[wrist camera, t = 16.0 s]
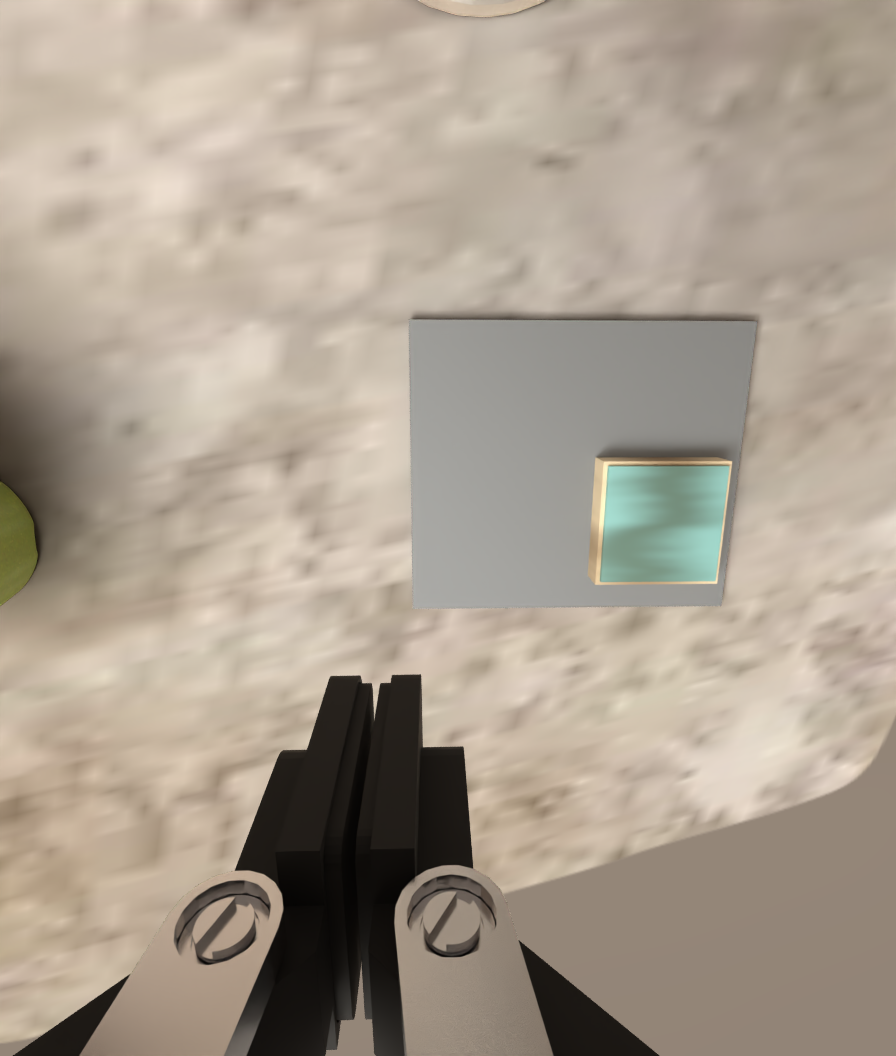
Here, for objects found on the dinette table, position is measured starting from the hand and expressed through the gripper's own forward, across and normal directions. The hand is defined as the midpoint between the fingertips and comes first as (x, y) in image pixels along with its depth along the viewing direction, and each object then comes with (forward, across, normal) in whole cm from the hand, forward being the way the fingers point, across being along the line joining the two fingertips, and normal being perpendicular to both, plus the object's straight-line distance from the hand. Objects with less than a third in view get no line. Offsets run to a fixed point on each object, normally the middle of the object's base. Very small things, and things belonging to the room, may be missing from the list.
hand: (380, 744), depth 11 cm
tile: (+18, -12, +4) cm, 22 cm away
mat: (+19, -8, -1) cm, 21 cm away
